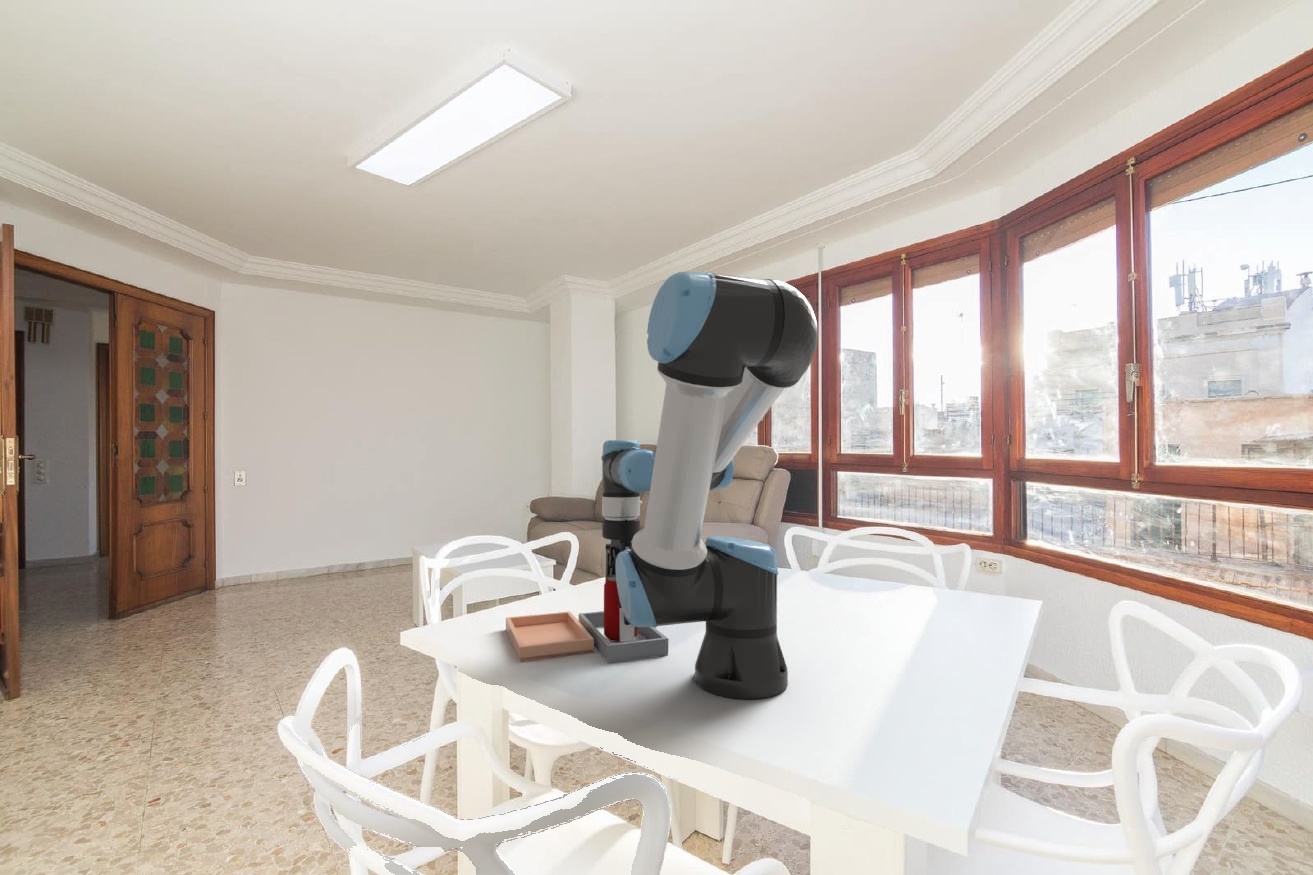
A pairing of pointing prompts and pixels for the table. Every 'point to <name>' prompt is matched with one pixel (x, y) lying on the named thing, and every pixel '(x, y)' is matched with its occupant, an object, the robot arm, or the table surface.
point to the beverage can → (612, 610)
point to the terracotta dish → (548, 636)
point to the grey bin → (627, 650)
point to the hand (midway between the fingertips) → (621, 634)
